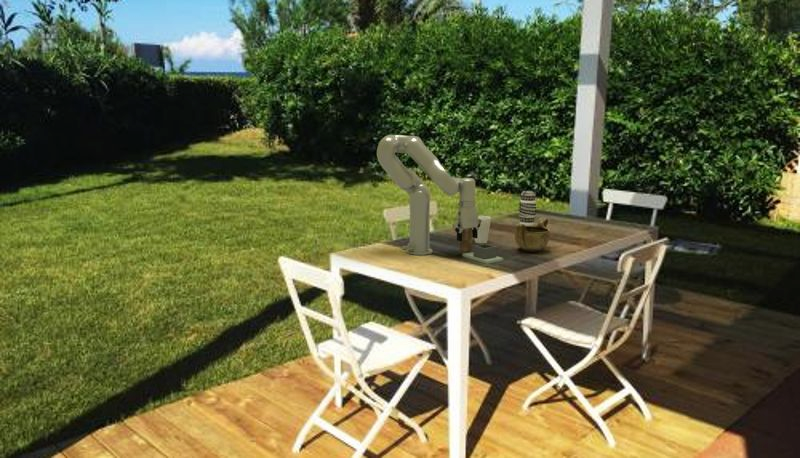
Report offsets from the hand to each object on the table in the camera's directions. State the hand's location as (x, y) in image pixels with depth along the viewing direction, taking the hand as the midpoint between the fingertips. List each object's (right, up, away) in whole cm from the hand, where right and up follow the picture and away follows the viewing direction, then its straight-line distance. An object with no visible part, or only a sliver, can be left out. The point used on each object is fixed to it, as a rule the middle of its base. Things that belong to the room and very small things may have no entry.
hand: (467, 239), depth 320 cm
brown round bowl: (+33, -6, +8) cm, 34 cm away
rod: (-1, -7, +1) cm, 7 cm away
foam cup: (+10, -2, +26) cm, 28 cm away
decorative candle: (+35, 0, +37) cm, 51 cm away
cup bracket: (+6, -9, -8) cm, 14 cm away
